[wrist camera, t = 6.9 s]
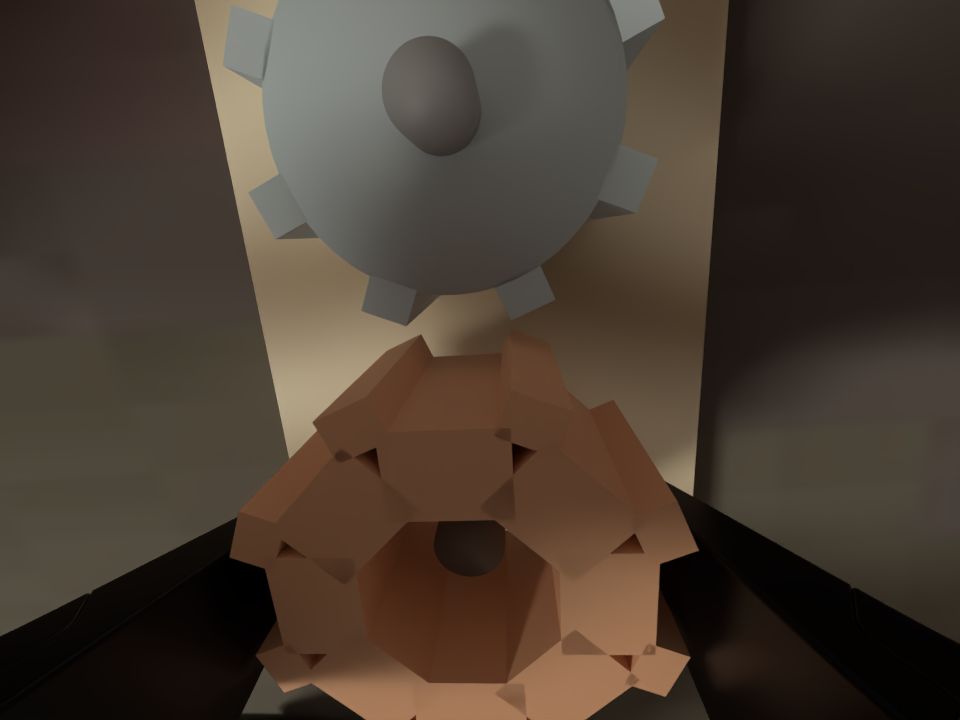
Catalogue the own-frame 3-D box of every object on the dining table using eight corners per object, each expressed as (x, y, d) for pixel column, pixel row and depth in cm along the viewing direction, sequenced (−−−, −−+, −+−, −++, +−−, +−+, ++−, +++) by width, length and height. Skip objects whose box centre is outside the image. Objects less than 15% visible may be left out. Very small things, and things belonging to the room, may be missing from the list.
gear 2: (624, 594, 10) (680, 772, 7) (355, 596, 11) (284, 763, 7) (630, 322, 8) (711, 381, 5) (309, 340, 9) (189, 405, 6)
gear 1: (607, 287, 10) (675, 325, 6) (347, 302, 11) (242, 348, 7) (610, -35, 9) (709, -296, 4) (301, 1, 9) (119, -202, 5)
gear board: (669, 596, 14) (769, 823, 9) (338, 598, 15) (241, 805, 10) (718, -222, 9) (1063, -970, 3) (197, -144, 10) (-212, -635, 4)
